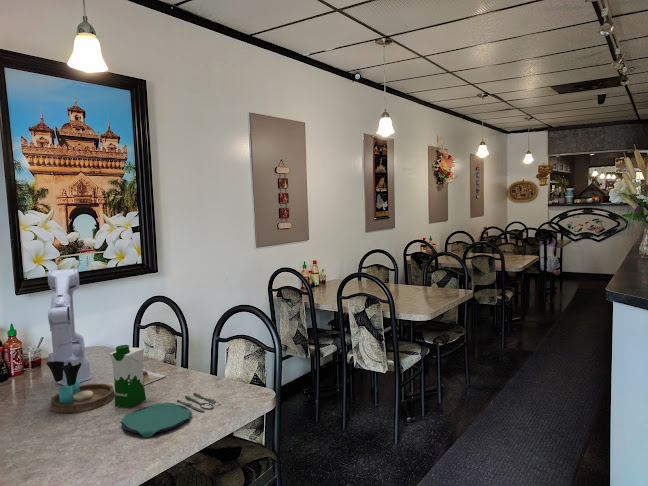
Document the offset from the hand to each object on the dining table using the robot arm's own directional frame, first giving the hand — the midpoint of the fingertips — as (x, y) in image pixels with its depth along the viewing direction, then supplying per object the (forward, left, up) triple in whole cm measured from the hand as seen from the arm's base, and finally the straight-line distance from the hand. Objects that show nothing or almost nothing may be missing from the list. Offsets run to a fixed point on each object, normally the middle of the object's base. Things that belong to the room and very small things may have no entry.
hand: (65, 383), depth 158 cm
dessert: (-29, +1, -9) cm, 31 cm away
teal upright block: (-6, -6, -7) cm, 11 cm away
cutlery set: (-12, +37, -9) cm, 40 cm away
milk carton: (-13, +16, -9) cm, 22 cm away
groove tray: (-6, 0, -8) cm, 10 cm away
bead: (0, 0, -7) cm, 7 cm away
